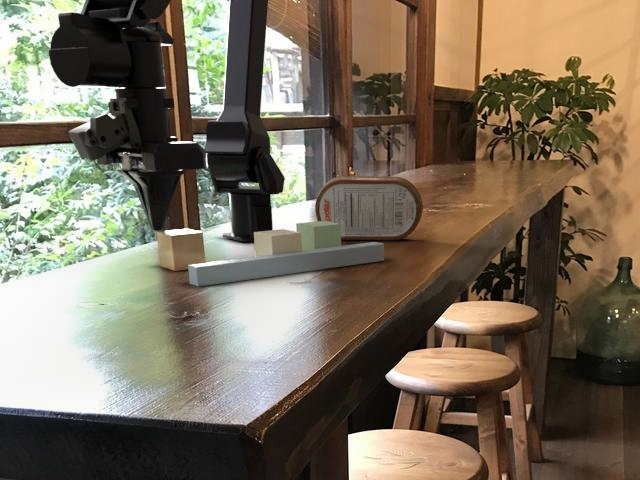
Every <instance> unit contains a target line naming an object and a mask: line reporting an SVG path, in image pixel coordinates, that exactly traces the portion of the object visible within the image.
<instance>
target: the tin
mask: <svg viewBox="0 0 640 480" xmlns="http://www.w3.org/2000/svg"><path fill="white" fill-rule="evenodd" d="M423 212H424V204H423V198H422V196H421V193H420V191H419V190H418V188H417V186H415V185H414V184H413V183H412V182H411V181H410V180H408V179H406V178H404V177H402V176H401V177H400V176H391V175H390V176H387V175H386V176H385V175H384V176H381V175H379V176H378V175H377V176H375V175H374V176H373V175H361V176H360V175H338V176H336V177H333V178H331V179H329V180H328V181H327V182H326V183H324V185H323V186H322V187H321V189H320V190H319V192H318V195H317V197H316V200H315V205H314V213H315V217H316V220H317V221H326V222H332V223H338V224H341V241H342V240H343V241H400V240H403V239H405V238H407V237H409V236H411V234H412V233H413V232H414V231H415V230H416V229H417V227H418V226H419V224H420V222H421V219H422V216H423Z"/></svg>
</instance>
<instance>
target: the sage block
mask: <svg viewBox="0 0 640 480" xmlns="http://www.w3.org/2000/svg"><path fill="white" fill-rule="evenodd" d="M295 227H296V232H300V233H301V240H302V251H305V250H313V249H321V248H329V247H337V246H342V240H341V224H338V223H332V222H326V221H318V220H317V221H308V222H307V221H306V222H298V223H296V224H295Z"/></svg>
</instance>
